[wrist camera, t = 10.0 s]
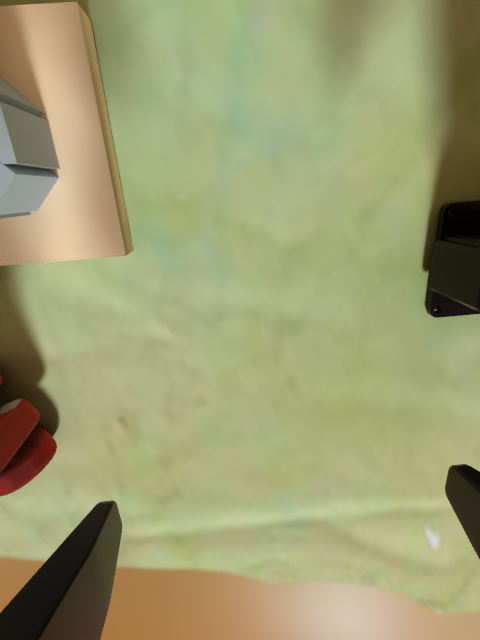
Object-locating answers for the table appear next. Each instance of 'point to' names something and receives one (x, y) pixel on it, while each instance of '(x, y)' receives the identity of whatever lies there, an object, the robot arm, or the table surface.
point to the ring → (24, 155)
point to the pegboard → (64, 138)
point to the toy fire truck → (22, 445)
